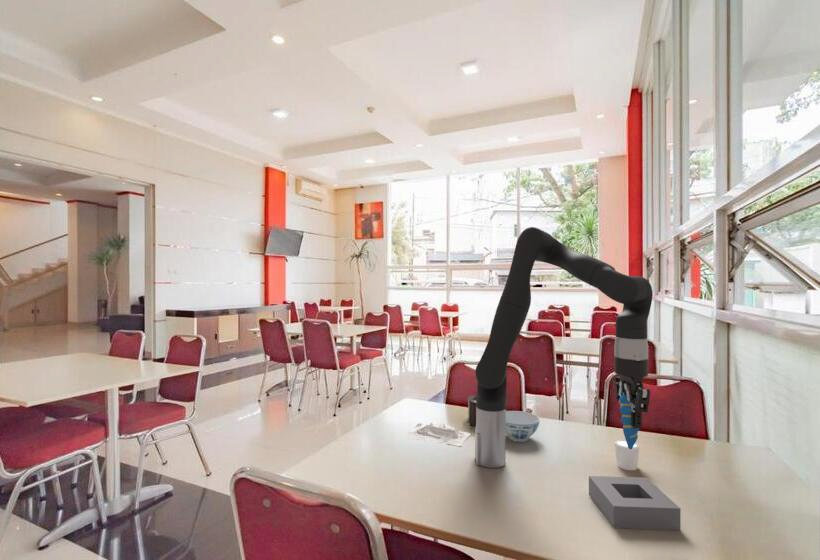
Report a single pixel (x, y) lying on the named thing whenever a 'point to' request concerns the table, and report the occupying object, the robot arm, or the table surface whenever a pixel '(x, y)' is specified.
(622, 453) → the white short cylinder
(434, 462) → the table surface
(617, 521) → the socket block
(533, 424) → the chinaware
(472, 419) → the pepper mill
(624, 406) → the ornament
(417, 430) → the terrain model
